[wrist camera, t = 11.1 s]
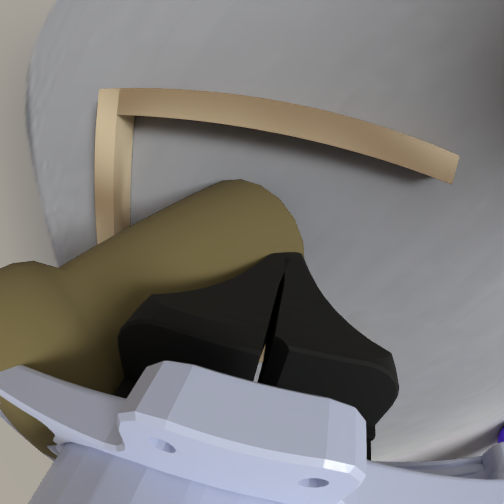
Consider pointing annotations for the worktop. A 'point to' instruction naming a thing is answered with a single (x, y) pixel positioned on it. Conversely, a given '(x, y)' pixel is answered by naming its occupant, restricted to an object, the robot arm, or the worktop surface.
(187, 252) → the olive pawn
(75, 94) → the worktop surface
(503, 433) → the bottle
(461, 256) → the worktop surface
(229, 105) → the wooden u-shaped frame
